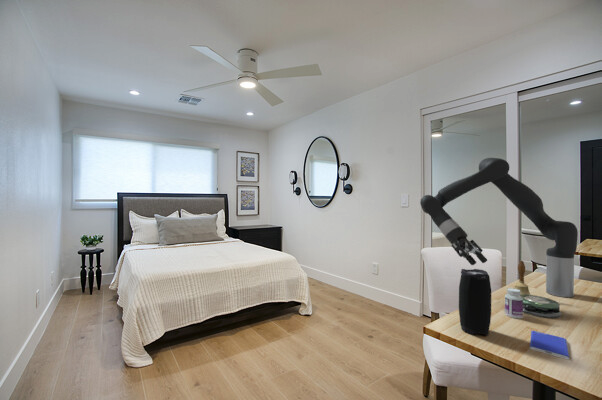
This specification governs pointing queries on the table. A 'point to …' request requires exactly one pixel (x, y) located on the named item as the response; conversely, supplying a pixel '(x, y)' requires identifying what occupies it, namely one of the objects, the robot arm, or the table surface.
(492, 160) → the robot arm
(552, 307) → the levelling base
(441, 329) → the table surface
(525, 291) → the hand bell
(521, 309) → the pill bottle
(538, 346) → the hard drive
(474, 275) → the portable speaker
